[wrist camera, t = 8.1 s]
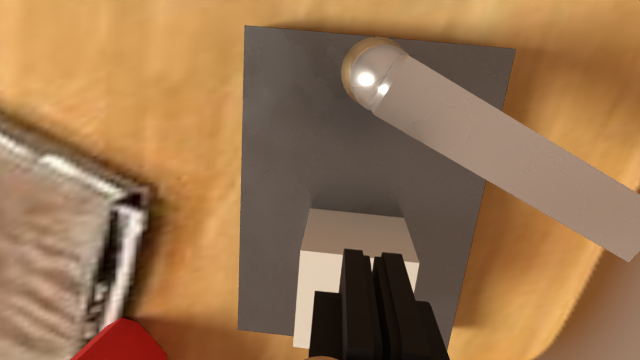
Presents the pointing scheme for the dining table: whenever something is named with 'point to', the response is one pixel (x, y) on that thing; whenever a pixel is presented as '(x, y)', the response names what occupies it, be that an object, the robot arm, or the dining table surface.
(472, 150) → the white bent handle
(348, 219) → the cover cap
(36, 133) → the dining table surface
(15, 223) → the dining table surface
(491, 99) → the base plate
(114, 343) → the french fries
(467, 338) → the dining table surface
